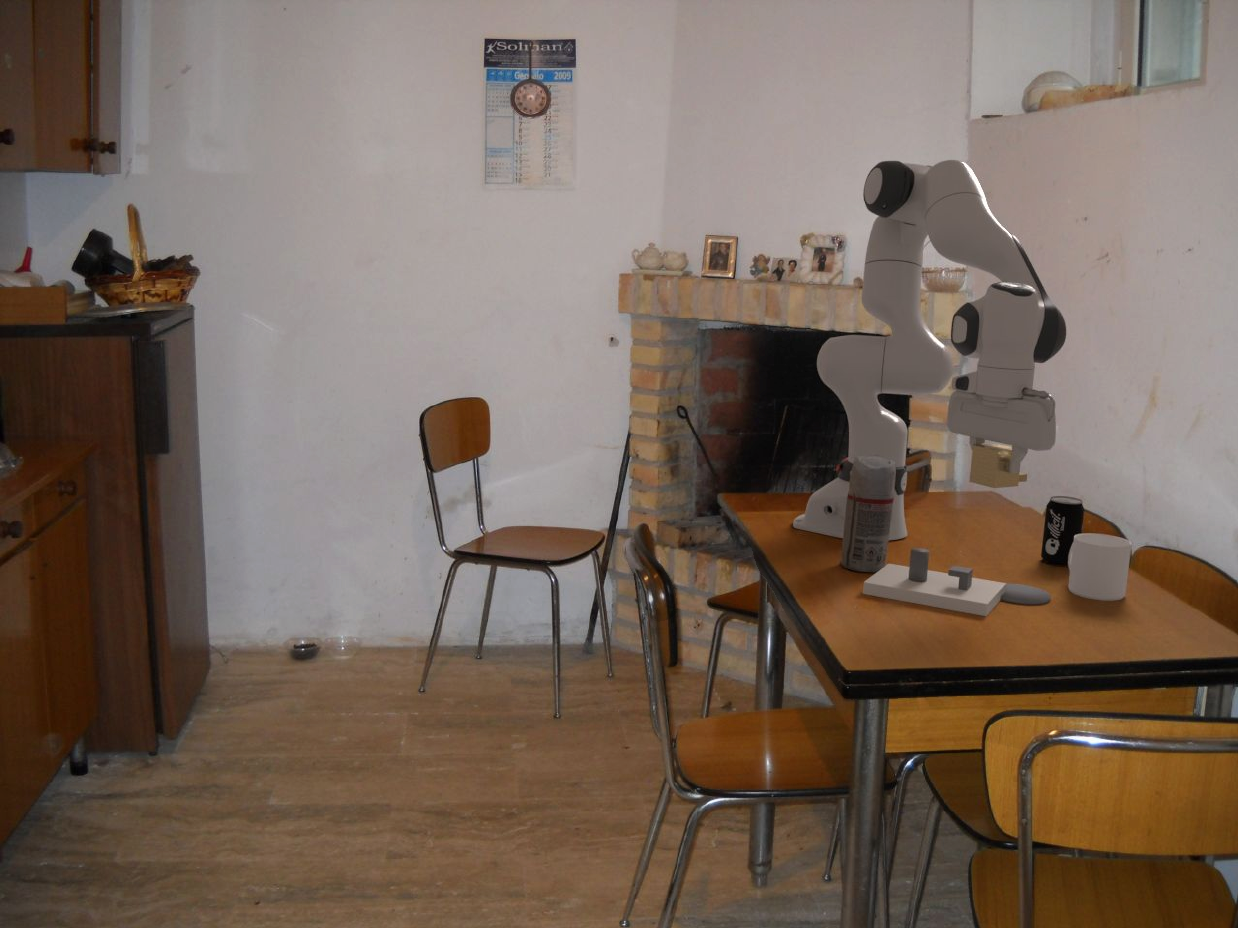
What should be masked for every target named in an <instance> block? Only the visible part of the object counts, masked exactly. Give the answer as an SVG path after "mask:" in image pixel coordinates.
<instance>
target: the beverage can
mask: <svg viewBox="0 0 1238 928" xmlns="http://www.w3.org/2000/svg"><path fill="white" fill-rule="evenodd" d="M1083 502H1084V501H1083V500H1082V498H1078V497H1074V496H1069V495H1068V496H1066V495H1053V496H1050V497H1049V501H1048V502H1047V504H1046V507H1045V517H1044V526H1043V533H1042V544H1041V553H1040V557H1041V558H1042V561H1043V562H1045V563H1046V564H1049V565H1053V566H1058V567H1059V566H1060V567H1069V566H1068V556H1069V552H1070V548H1071V546H1072V543H1073V542H1074V536H1075V535H1077V534H1083V525H1084V517H1085V507H1084V506H1083Z"/></svg>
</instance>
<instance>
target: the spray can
mask: <svg viewBox="0 0 1238 928" xmlns="http://www.w3.org/2000/svg"><path fill="white" fill-rule="evenodd" d="M895 475H896V464H895V462H894V461H892V460H887V459H885V458H884V457H882V456H879V455H875V454H874V455H869V456H861V457H859V456H858V457H855V460H854V463H853V467H852V471H851V476H850V484H849V492H848V496H847V501H846V511H845V523H844V532H843V538H842V545H841V559H840V561H839V563H840V564H841V566H842V567H843V568H845V569H849V570H852V571H855V572H861V573H877V572H878V571H879V570H881V569H882V568H884V567H885V566H886V561H887V556H888V545H889V541H890V540H889V533H890V525H891V520H892V509H893V501H894V486H895Z"/></svg>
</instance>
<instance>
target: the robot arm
mask: <svg viewBox="0 0 1238 928" xmlns="http://www.w3.org/2000/svg"><path fill="white" fill-rule="evenodd" d="M862 194H863V203H864V205H865V207H866V209H867V210H868V212H870V213H872V214H874V215H876V216H877V217H876V218H875V220H874V222H873V224H872V227H871V231H870V233H869V234H870V235H869V238H868V240H867V241H868V242H867V247H866V253H865V258H864V259H865V261H864V267H863V268H864V269H863V279H862V290H861V303H862V306H863V308H864V310H865V311H866V312H867V313H868V314H869V315H871V316H872V317H874V318H876V319H878V320H879V321H881V322H883V323H885V324H886V325H887V326H888V327H889V328H890V330H891V334H890V335H886V336H880V335H879V336H878V335H877V336H876V335H863V334H862V335H861V334H847V335H841V336H835V337H829V338H828V339H827V340H826V341H825V342H824V343H823V344H822V345H821V348H820V349H819V352H818V354H817V357H816V358H817V359H816V368H817V369H816V370H817V372H818V375H819V377H820V380H821V381H822V382H823V384H824V385H826V386H827V387H828V388H829V389H830V390H831V391H832V392H833V393H834V394H835V395H836V396H837V398H838V399H839V401H840V402H841V404H842V406H843V409H844V411H845V413H846V415H847V421H848V432H849V433H848V457H846V458H844V459H843V460H841V462H839V463H838V465H836V466H835V467H836V468H835V471H836V472H837V476H838V477H836V478H834V479H833V480H832V481H830V482H829V483H827V484H825V485H824V486H822V487H820V488H819V489H818V490H816V491H815V492H813V494H811V495H810V497H809V499H808V501H807V503H806V508H805V512H804V513H802V514H800V515H798V516H797V517H795V518H794V519H793V521H792V522H793V523H792V526H793V528H795V529H798V530H802V531H807V532H810V533H811V532H812V533H817V534H819V535H820V534H821V535H825V536H830V537H835V538H839V539H843V532H844V523H845V511H846V501H847V496H848V492H849V484H850V476H851V471H852V467H853V463H854V460H855V457H858V456H859V457H861V456H869V455H874V454H875V455H879V456H882V457H884V458H885V459H887V460H892V461H894V462H895V464H896V475H895V486H894V501H893V509H892V520H891V525H890V533H889V541H894V540H901V539H904V538H906V537H907V536H908V530H907V526H906V519H905V510H904V509H905V507H904V506H905V503H904V494H905V491H906V487H907V480H908V472H907V471H908V470H907V469H908V465H907V464H906V457H907V445H908V444H907V442H908V433H909V432H908V427H907V425H906V423H905V421H904V420H903V419H902V417H900V416H899V415H897V414H896V413H894V412H892V411H891V410H889V409H886V408H885V407H884V406H882V405H881V404H880V402H879V399H878V395H880V394H892V395H903V396H904V395H905V396H906V395H907V396H923V395H924V396H925V395H931V394H939V393H940V392H942V391H943V390H944V389H945V388H946V387H947V385H949V383H950V381H951V383H950V384H951V386H950V387H951V388H952V390H953V392H952V393H951V394H950V397H949V401H948V405H947V406H948V407H947V414H946V415H947V416H946V425H947V428H948V431H949V432H950V433H953V434H957V435H960V436H961V435H962V436H967V437H969V447H970V448H971V450H973V445H983V444H985V441H990V442H995V443H997V444H1002V445H1007V446H1008V445H1009V446H1011V447H1012V452H1013V453H1014V455H1013V456H1012V458H1011V460H1010V461H1006V462H1005V466H1006V467H1005V471H1006V472H1008V473H1012V474H1015V473H1018V472H1019V469H1020V470H1021V463H1020V462H1022V461H1023V460H1024V459H1025V457H1026V456H1027V454H1028V451H1029V450H1032V451H1037V452H1038V451H1039V452H1040V451H1050V450H1051V449H1052V448H1053V447H1054V446H1055V444H1056V437H1057V436H1056V435H1057V434H1056V433H1057V425H1056V424H1057V423H1056V422H1057V421H1056V411H1055V410H1056V401H1055V400H1054V398H1053V397H1052V395H1051V394H1050V393H1049V392H1048V391H1046V390H1037V389H1033V387H1034V376H1035V368H1036V367H1035V364H1036V363H1037V364H1044V363H1046V362H1048V361H1049V360H1050V359H1052V358H1053V357H1054V356H1056V355H1057V354H1058V353H1059V352H1060V351H1061V349H1062V348H1063V346H1064V344H1065V343H1066V338H1067V325H1066V321H1065V318H1064V315H1063V314H1062V313H1061V311H1060V309H1059V308H1058V307H1057V305H1056V304H1055V303H1054V302H1053V301H1052V299H1051V298H1050V297H1049V295H1048V294H1047V291H1046V289H1045V287H1044V285H1043V283H1042V282H1041V279H1040V278H1039V276H1038V274H1037V272H1036V269H1035V268H1034V265H1033V264H1032V262H1031V260H1030V258H1029V255H1027V253H1026V250H1025V249H1024V246H1022V244H1021V242H1020V241H1019V239H1018V238H1017V237H1016V236H1015V235H1014V234H1012V233H1011V232H1010V231H1008V230H1006V229H1005V228H1004V226H1002V224H1000V222H999V221H998V220H997V219H996V218H995V216H994V215H993V213H992V211H991V209H990V208H989V206H988V201H987V198H986V196H985V193H984V190H983V188H982V187H981V184H980V182H979V179H978V178H977V176H976V174H975V173H974V171H973V169H972V168H971V167H970V166H969V165H968V164H966V163H965V162H963V161H961V160H957V159H946V160H942V161H939V162H937V163H935V164H934V165H923V164H916V163H908V162H902V161H899V160H884V161H879V162H878V163H876V165H874V166H873V168H871V170H870V171H869V172H868V174H867V177H866V179H865V183H864V186H863V193H862ZM927 237H928V239H929V241H930V243H931V245H932V247H933V248H934V249H935V251H936V252H937V254H939V255H941V256H942V257H943V258H944V259H947V260H948V261H952V262H953V263H956V264H960V265H965V266H969V267H970V268H971V267H972V268H975V269H977V270H978V269H979V270H980V271H983V272H986V273H988V274H990V275H993V276H994V277H996V278H997V279H998V280H1000V281H998V282H995V283H992V284H990V285H989V286H988V287H987V289H986V292H985V294H984V295H982V297H980V298H978V299H976V300H973V301H970V302H968V301H967V302H965V303H964V304H962V305H961V306H960V307H959V308H958V309H957V310H956V312H955V313H954V314H953V316H952V319H951V328H950V341H951V344H952V345H953V347H954V348H955V349H956V351H957V352H958V353H959V354H961V356H964V357H967V358H971V359H978V362H977V365H976V371H973V372H969V373H966V374H961V375H957V376H954V377H952V376H953V372H954V361H953V357H952V354H951V352H950V350H949V348H948V347H947V346H946V345H945V344H944V343H943V342H941V341H940V340H939V339H938V338H937V337H936V336H935V335H934V334H933V332H932V331H931V330H930V328H929V327H928V325H927V323H926V321H925V318H924V314H923V311H922V303H921V301H922V300H921V296H922V295H921V292H922V291H921V289H922V288H921V287H922V273H923V262H924V261H923V260H924V259H923V258H924V245H925V241H926V239H927Z"/></svg>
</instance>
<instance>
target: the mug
mask: <svg viewBox="0 0 1238 928" xmlns="http://www.w3.org/2000/svg"><path fill="white" fill-rule="evenodd" d="M1132 543H1133V542H1131V541H1130V540H1128V539H1126V538H1123V537H1119V536H1115V535H1111V534H1103V533H1091V532H1087V533H1086V532H1085V533H1083V532H1082V534H1077V535H1075V536H1074V542H1073V543H1072V546H1071V548H1070V552H1069V556H1068V566H1067V567H1068V570H1069V578H1068V586H1067V587H1068V588H1067V589H1068V590H1069V592H1070V593H1072V594H1073V595H1076V596H1078V597H1082V598H1084V599H1089V600H1094V601H1103V602H1104V601H1105V602H1115V601H1120V600H1123V599H1124V597H1125V596H1126V593H1127V592H1126V591H1127V583H1128V575H1129V566H1130V560H1131V559H1130V558H1131V552H1132V551H1131V550H1132Z"/></svg>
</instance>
